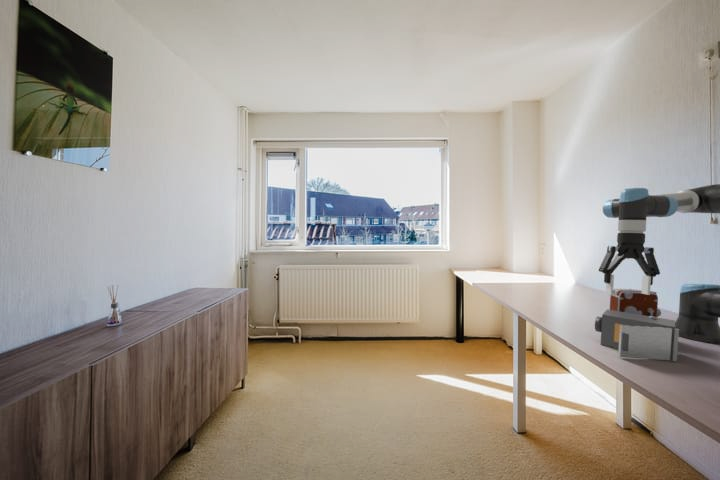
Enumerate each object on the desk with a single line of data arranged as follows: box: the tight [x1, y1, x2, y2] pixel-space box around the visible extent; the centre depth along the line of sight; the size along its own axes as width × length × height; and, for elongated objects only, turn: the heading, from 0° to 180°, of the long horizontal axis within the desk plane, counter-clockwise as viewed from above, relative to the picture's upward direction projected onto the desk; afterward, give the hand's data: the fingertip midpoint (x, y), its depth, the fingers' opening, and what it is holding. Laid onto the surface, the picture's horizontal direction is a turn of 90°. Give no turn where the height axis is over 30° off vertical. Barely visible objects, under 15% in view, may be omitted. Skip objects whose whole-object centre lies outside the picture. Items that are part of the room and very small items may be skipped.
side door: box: [617, 325, 672, 361], centre depth 109 cm, size 2×16×11 cm, turn 85°
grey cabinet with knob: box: [594, 309, 680, 362], centre depth 120 cm, size 13×24×13 cm, turn 45°
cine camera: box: [609, 288, 662, 318], centre depth 134 cm, size 9×19×20 cm, turn 78°
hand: (627, 293), depth 113 cm, fingers open, 11 cm apart
